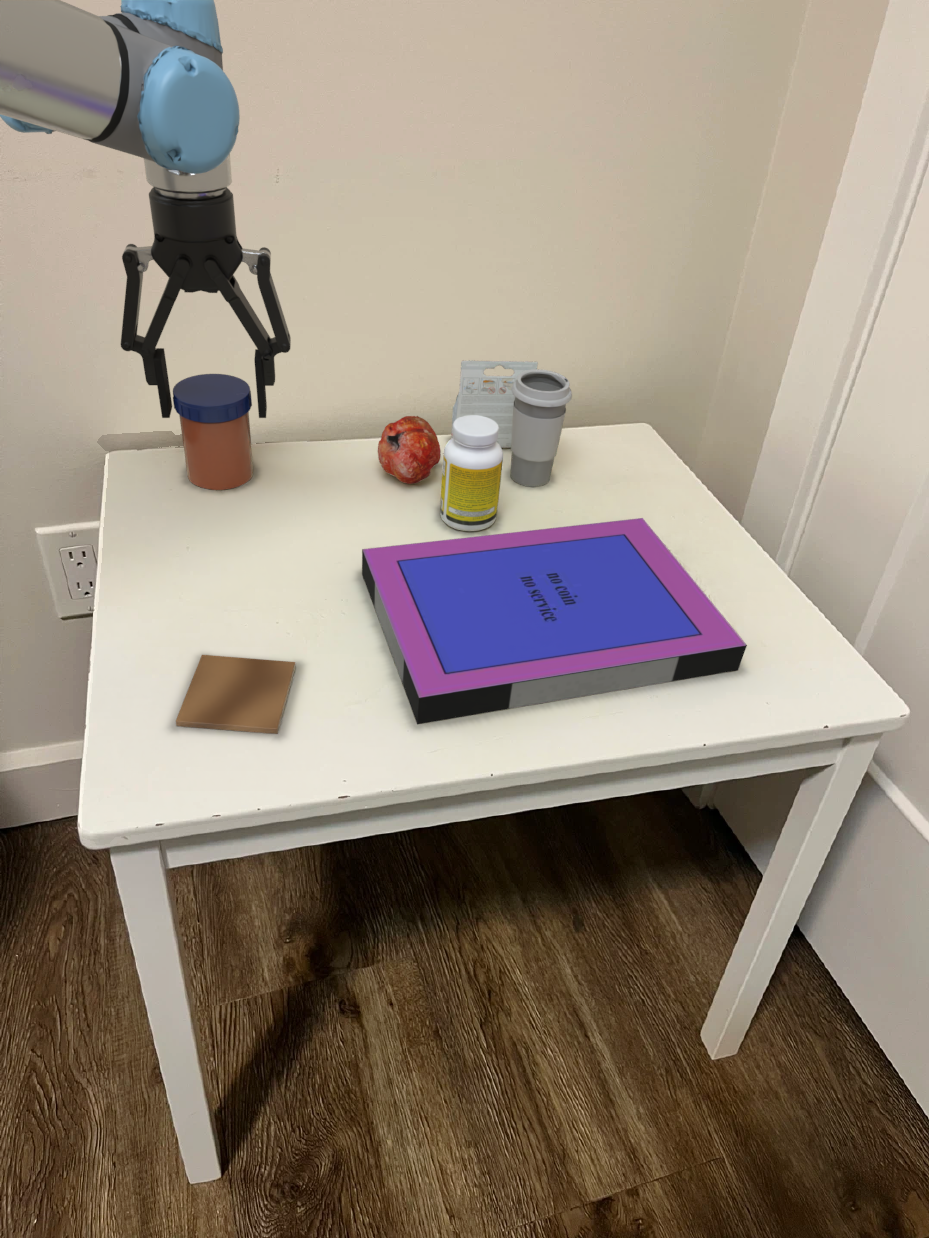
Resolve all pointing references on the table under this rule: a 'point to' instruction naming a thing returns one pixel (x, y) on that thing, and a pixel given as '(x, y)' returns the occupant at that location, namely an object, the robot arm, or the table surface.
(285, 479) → the table surface
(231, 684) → the cork mat
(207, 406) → the lid
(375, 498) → the table surface
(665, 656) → the book
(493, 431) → the pill bottle
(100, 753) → the table surface
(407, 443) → the pomegranate
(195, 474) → the jar
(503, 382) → the ink box
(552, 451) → the cup
